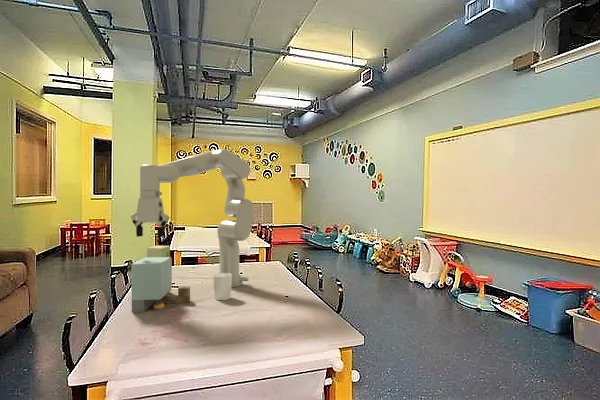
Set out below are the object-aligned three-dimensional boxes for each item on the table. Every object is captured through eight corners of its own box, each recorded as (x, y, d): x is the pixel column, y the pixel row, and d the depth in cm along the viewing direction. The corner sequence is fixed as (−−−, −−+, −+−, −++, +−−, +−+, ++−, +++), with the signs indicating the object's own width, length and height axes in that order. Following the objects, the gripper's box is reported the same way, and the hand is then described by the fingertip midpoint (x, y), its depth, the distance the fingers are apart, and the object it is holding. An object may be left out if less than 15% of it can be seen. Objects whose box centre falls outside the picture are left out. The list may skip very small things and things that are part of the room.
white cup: (235, 297, 172) (235, 273, 171) (224, 301, 164) (224, 277, 164) (220, 295, 175) (220, 272, 175) (209, 299, 168) (209, 275, 168)
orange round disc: (165, 306, 158) (165, 302, 158) (162, 309, 154) (162, 305, 154) (155, 306, 158) (155, 302, 158) (152, 309, 154) (152, 305, 154)
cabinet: (171, 300, 166) (171, 257, 166) (160, 311, 150) (160, 263, 150) (145, 300, 166) (145, 257, 166) (131, 311, 150) (131, 264, 150)
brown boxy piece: (190, 300, 166) (189, 286, 166) (188, 303, 162) (188, 288, 162) (158, 301, 165) (158, 286, 165) (155, 303, 161) (155, 288, 161)
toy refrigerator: (162, 296, 172) (161, 248, 172) (146, 295, 174) (146, 247, 173) (171, 292, 180) (171, 245, 180) (156, 291, 182) (156, 245, 181)
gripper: (173, 194, 164) (173, 236, 165) (137, 194, 169) (137, 235, 169) (163, 194, 157) (163, 238, 157) (125, 194, 161) (125, 236, 161)
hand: (149, 236), depth 163 cm, fingers open, 9 cm apart
